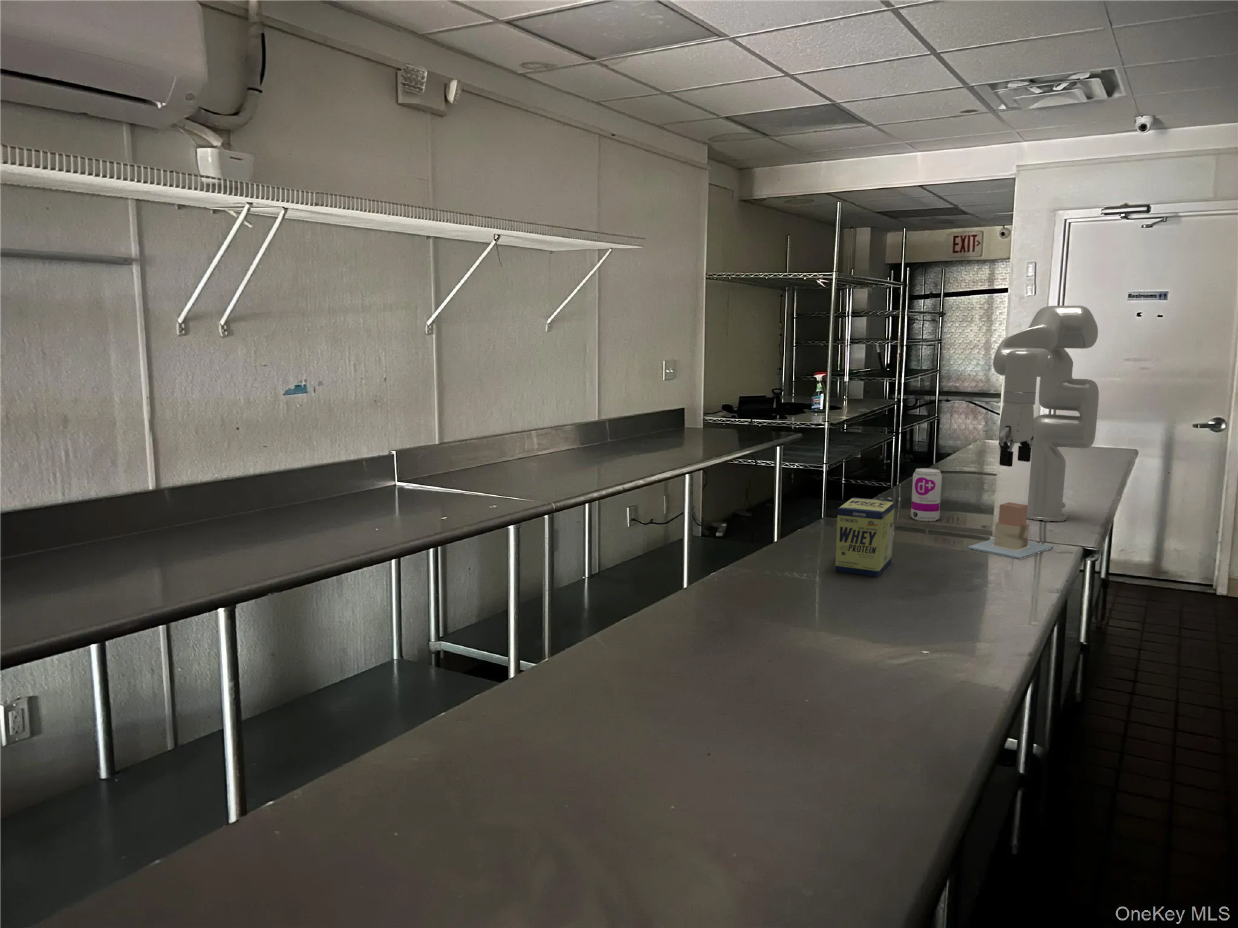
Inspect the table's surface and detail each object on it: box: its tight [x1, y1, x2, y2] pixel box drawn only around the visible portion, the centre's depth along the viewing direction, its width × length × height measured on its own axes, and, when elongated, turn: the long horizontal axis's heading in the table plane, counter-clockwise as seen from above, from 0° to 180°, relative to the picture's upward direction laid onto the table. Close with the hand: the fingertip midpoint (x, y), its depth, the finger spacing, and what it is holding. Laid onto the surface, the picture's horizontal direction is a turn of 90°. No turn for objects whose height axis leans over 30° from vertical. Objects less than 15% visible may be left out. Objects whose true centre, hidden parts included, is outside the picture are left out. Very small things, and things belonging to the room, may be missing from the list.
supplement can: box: [910, 467, 943, 522], centre depth 267 cm, size 8×8×15 cm
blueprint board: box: [967, 538, 1054, 560], centre depth 232 cm, size 18×14×1 cm
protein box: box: [834, 497, 896, 578], centre depth 213 cm, size 10×16×16 cm
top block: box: [998, 501, 1028, 527], centre depth 231 cm, size 5×5×5 cm
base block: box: [993, 521, 1030, 550], centre depth 232 cm, size 6×6×6 cm
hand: (1014, 463), depth 231 cm, fingers open, 9 cm apart
